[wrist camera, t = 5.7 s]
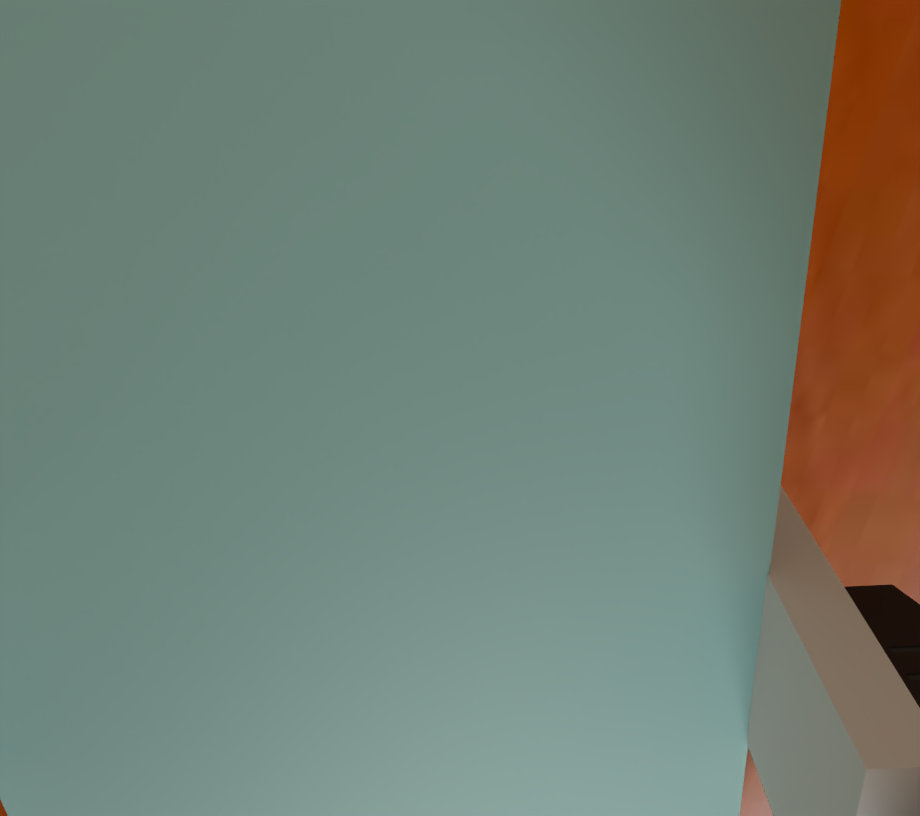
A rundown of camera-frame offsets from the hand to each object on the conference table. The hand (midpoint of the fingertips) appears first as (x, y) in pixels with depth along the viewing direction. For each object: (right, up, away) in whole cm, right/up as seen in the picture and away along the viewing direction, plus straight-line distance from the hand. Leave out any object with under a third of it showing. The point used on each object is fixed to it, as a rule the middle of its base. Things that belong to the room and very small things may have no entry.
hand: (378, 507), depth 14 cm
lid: (0, -1, -2) cm, 2 cm away
